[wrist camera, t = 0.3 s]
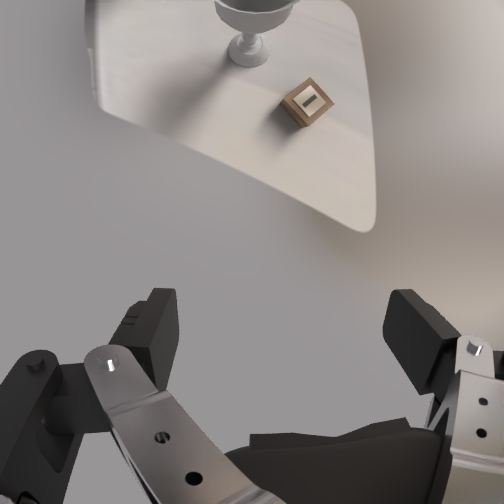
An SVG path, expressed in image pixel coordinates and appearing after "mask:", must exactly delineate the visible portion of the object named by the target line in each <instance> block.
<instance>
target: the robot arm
mask: <svg viewBox="0 0 504 504" xmlns="http://www.w3.org/2000/svg"><path fill="white" fill-rule="evenodd" d="M383 337H384V340H385V342H386V343H387V345H388V346H389V348H390V349H391V351H392V352H393V354H394V355H395V357H396V359H397V360H398V362H399V363H400V365H401V366H402V368H403V369H404V371H405V373H406V374H407V376H408V377H409V379H410V381H411V382H412V384H413V385H414V387H415V389H416V390H417V392H418V393H419V395H424V394H429V393H434V396H433V398H432V400H431V402H430V406H429V410H428V414H427V418H426V421H425V425H424V429H423V428H411V427H410V425H409V423H408V421H407V419H406V418H405V417H404V418H400V419H394V420H389V421H384V422H378V423H373V424H370V425H368V426H365V427H362V428H360V429H357V430H355V431H352V432H349V433H347V434H344V435H341V436H338V437H326V436H316V435H307V434H299V433H277V434H250V443H249V446H246V447H241V448H238V449H235V450H232V451H230V452H227V453H225V454H223V453H222V452H221V451H220V450H219V449H218V447H217V446H215V444H214V443H213V442H212V441H211V440H210V439H209V438H208V437H207V436H206V435H205V433H204V432H203V431H202V430H201V429H200V428H199V427H198V425H197V424H196V423H195V422H194V421H193V420H192V419H191V417H190V416H189V415H188V414H187V413H186V411H185V410H184V409H183V408H182V407H181V406H180V404H179V403H178V402H177V401H176V399H175V398H174V397H173V396H172V395H171V393H170V392H169V391H167V390H166V388H167V383H168V379H169V376H170V372H171V368H172V364H173V360H174V356H175V353H176V349H177V346H178V341H179V322H178V311H177V299H176V291H175V289H170V288H154V289H153V290H152V292H151V294H150V296H149V298H148V299H147V301H138V302H137V303H136V304H134V305H133V306H131V307H130V308H129V310H128V311H127V313H126V315H125V317H124V318H123V320H122V321H121V324H120V325H119V326H118V328H117V330H116V332H115V333H114V335H113V337H112V338H111V340H110V342H109V344H108V345H103V346H100V347H97V348H95V349H93V350H92V351H90V352H89V353H88V354H87V355H86V357H85V359H84V363H77V364H63V365H59V363H58V360H57V357H56V356H55V354H54V353H52V352H50V351H47V350H35V351H31V352H28V353H26V354H25V355H23V356H22V357H21V358H19V360H18V361H17V362H16V363H15V365H14V366H13V368H12V369H11V371H10V372H9V373H8V375H7V376H6V378H5V379H4V381H3V382H2V384H1V385H0V504H63V500H64V497H65V493H66V490H67V486H68V483H69V479H70V476H71V473H72V469H73V466H74V463H75V460H76V457H77V454H78V450H79V447H80V445H81V442H82V438H83V436H84V433H98V432H110V434H111V436H112V437H113V440H114V442H115V443H116V445H117V447H118V449H119V451H120V453H121V455H122V456H123V458H124V460H125V461H126V463H127V465H128V467H129V468H130V470H131V472H132V474H133V475H134V477H135V479H136V480H137V482H138V484H139V485H140V487H141V489H142V491H143V492H144V494H145V495H146V497H147V498H148V500H149V502H150V503H151V504H504V351H492V348H491V346H490V344H489V343H488V342H486V341H485V340H483V339H482V338H480V337H477V336H473V335H463V336H462V335H461V334H460V333H459V332H458V331H457V330H456V329H455V328H454V327H453V326H452V325H451V324H450V323H449V322H448V321H446V319H445V318H444V317H443V316H442V315H440V313H439V312H438V311H437V310H436V309H435V308H434V307H433V306H431V305H429V304H428V303H426V302H425V301H424V300H423V299H422V298H421V297H420V296H419V295H418V294H416V292H414V291H413V290H412V289H399V290H393V291H392V293H391V295H390V299H389V303H388V307H387V311H386V316H385V320H384V324H383Z"/></svg>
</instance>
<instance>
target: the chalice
mask: <svg viewBox="0 0 504 504" xmlns="http://www.w3.org/2000/svg"><path fill="white" fill-rule="evenodd" d="M214 1H215V6H216V12H217V14H218V15H219V17H220V18H221V20H222V21H224V22H225V23H226V24H228V25H229V26H230V27H232V28H234V29H235V30H238V31H241V32H243V33H241V34H238V35H237V36H235V37H234V38H233V39H232V40H231V42H230V44H229V48H228V50H229V55H230V57H231V59H232V60H233V61H234V62H235V63H236V64H238V65H240V66H243V67H257V66H259V65H261V64H263V63H264V62H265V61H267V59H268V57H269V56H270V52H271V48H270V44H269V42H268V40H267V39H266V38H265V37H264V36H263V35H261V34H259V33H263V32H266V31H269V30H271V29H274V28H276V27H277V26H279V25H280V24H282V23H284V22H285V20H286V19H287V18H288V16H289V15H290V13H291V10H292V7H293V5H294V4H296V3H297V2H299V1H300V0H214Z"/></svg>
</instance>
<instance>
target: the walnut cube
mask: <svg viewBox="0 0 504 504" xmlns="http://www.w3.org/2000/svg"><path fill="white" fill-rule="evenodd" d="M280 105H281V106H282V107H283V108H284V109H285V110H286V111H287V112H288V113H289V114H290V116H291V117H292V118H293V119H294V120H295V121H296V122H297V123H298V124H299V125H300V126H301V128H304V127H307V126H309V125H310V124H311V123H313V122H314V121H315V120H316V119H317V118H318V117H320V116H321V115H322V114H323V113H324V112H326V111H327V110H328V109H329V108H330V107H332V106H333V105H334V103H333V102H332V100H331V99H330V98H329V97H328V96H327V95H326V94H325V93H324V91H323V90H322V89H321V88H320V87H319V86H318V85H317V84H316V83H315V82H314V81H313V80H312V78H311V77H310V78H308V79H307V80H306V81H305V82H303V83H302V84H301V85H300V86H298V87H297V88H296V89H295V90H294V91H292V92H291V93H290V94H289V95H287V96H286V97H285V98H284V99H283V100H282V101H281V103H280Z"/></svg>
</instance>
